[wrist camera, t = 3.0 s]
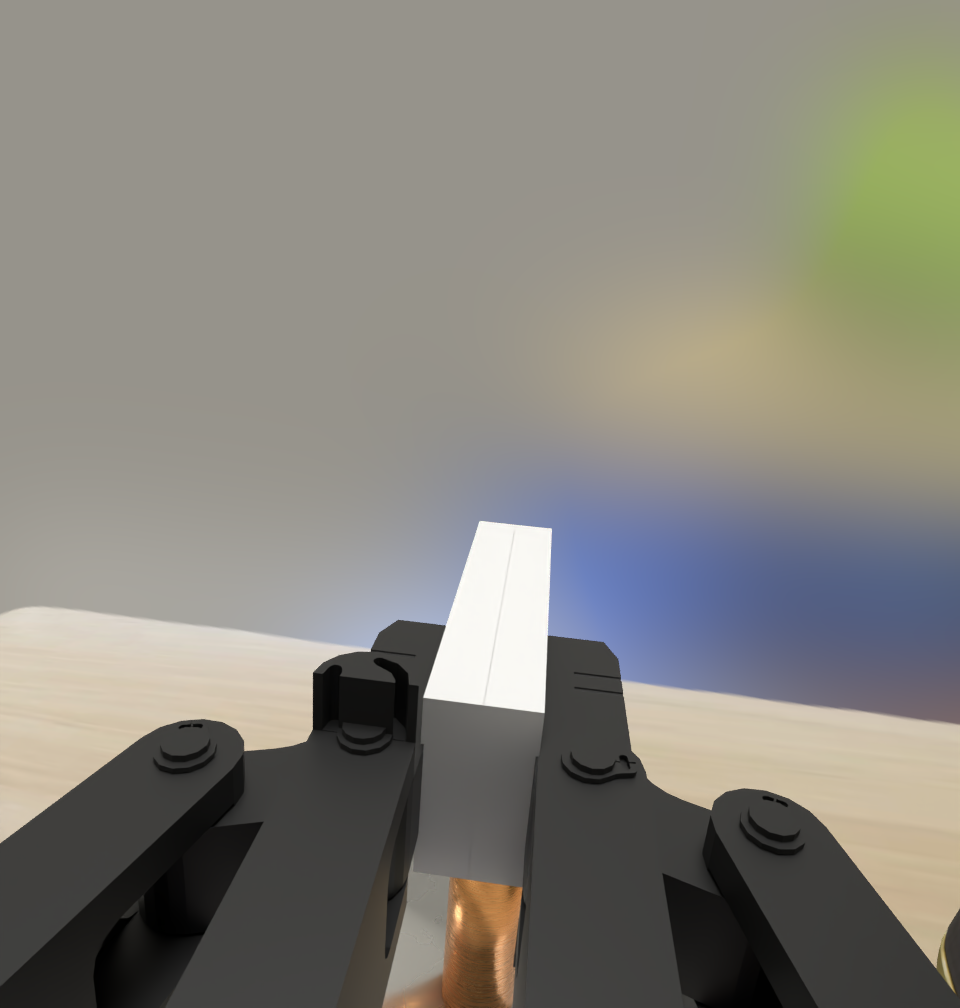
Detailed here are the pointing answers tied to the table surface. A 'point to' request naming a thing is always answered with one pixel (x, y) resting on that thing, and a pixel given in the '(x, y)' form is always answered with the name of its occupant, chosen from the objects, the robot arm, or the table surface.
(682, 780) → the table surface
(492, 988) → the lugged metal dome
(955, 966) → the coffee jar
